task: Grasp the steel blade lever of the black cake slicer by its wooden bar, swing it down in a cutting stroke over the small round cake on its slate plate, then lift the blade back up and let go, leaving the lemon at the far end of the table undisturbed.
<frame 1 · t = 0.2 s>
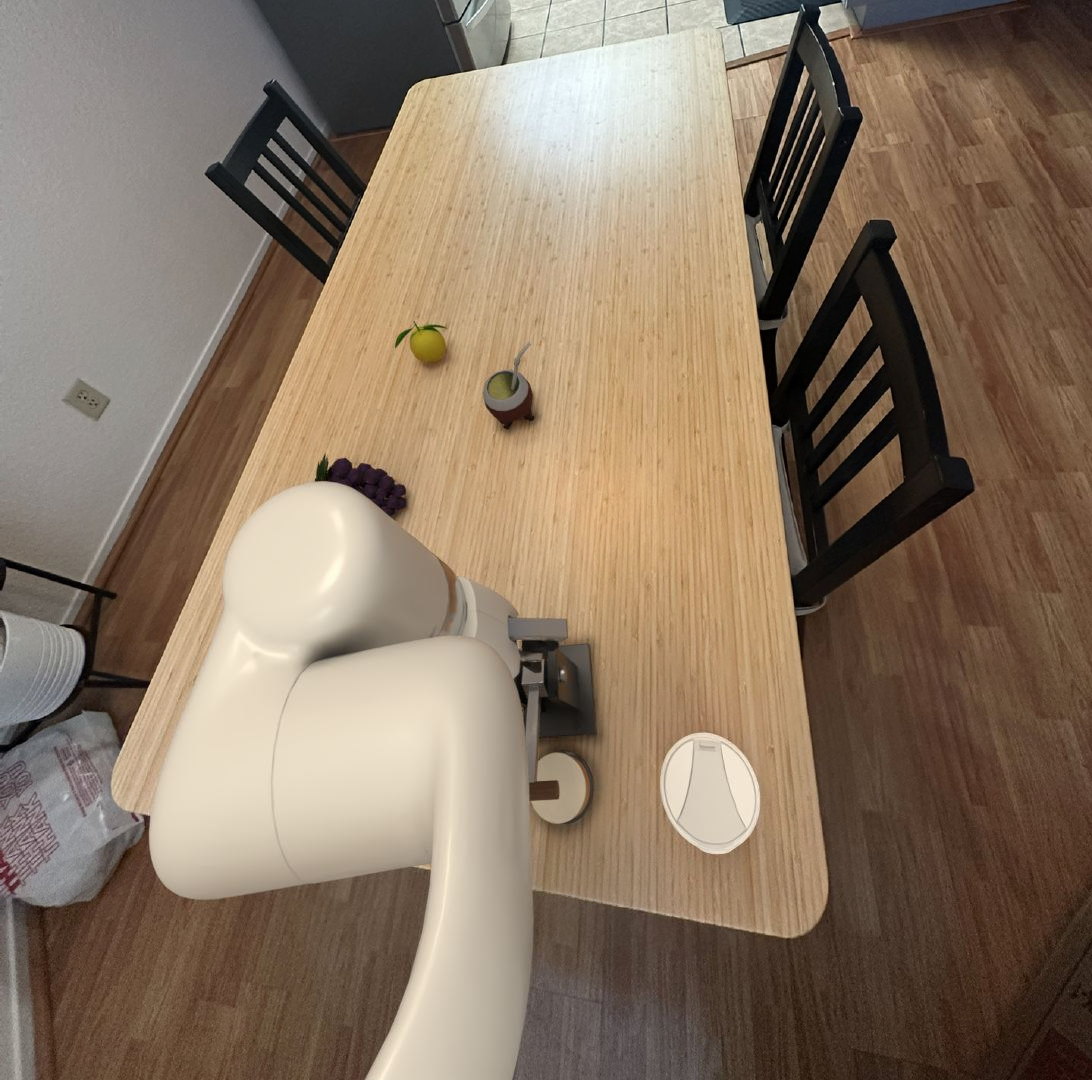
hand: (479, 656, 50), 26 cm above the table, tool pointing down, fingers open, 9 cm apart
mate gourd: (519, 411, 93), on the table
cake: (563, 786, 65), on the table
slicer: (559, 690, 71), on the table
lemon: (435, 359, 101), on the table
blade lever: (532, 725, 56), point 15 cm above the table, hinge at 25.0°
fruit: (366, 504, 89), on the table
coffee cup: (706, 787, 63), on the table
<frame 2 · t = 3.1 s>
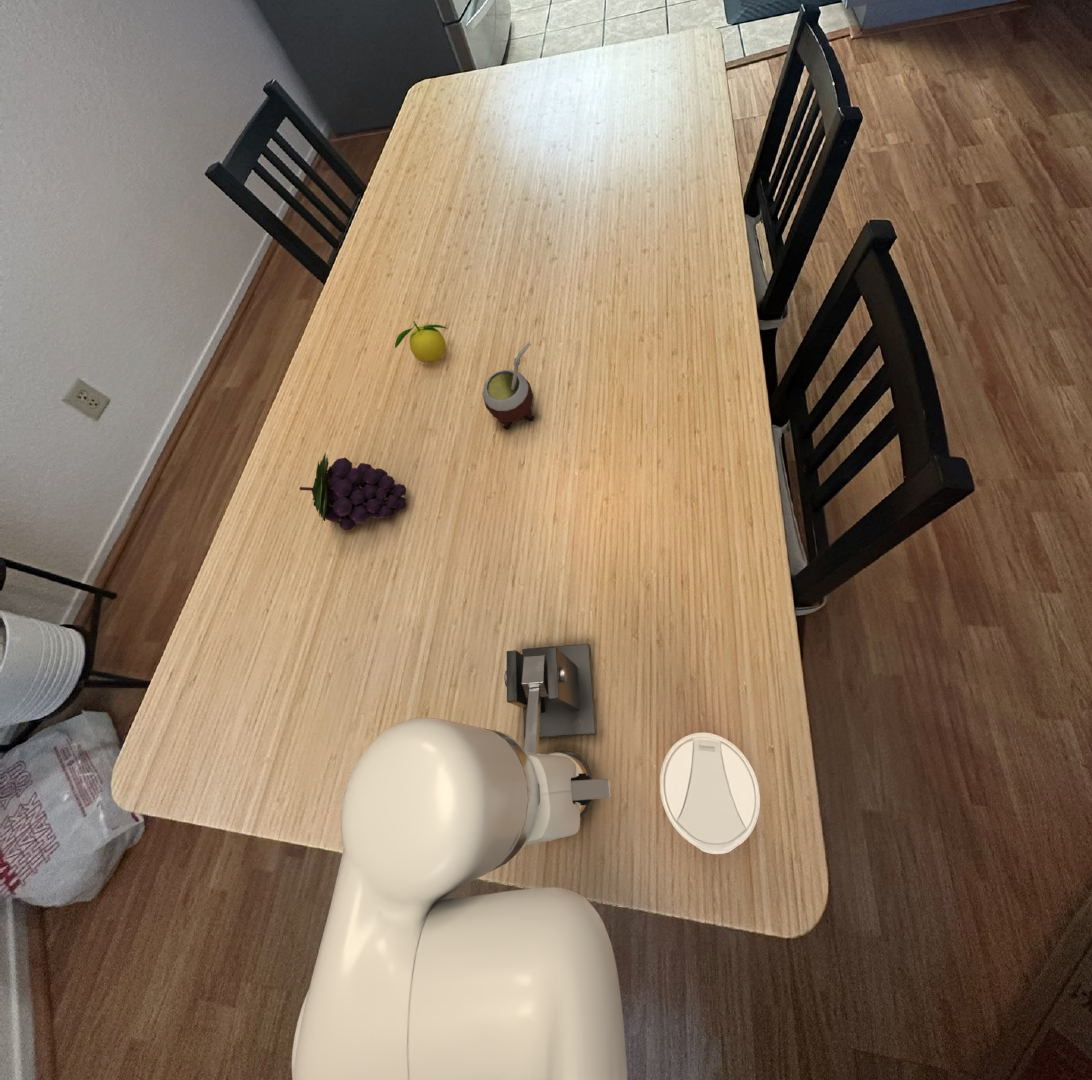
hand: (535, 790, 54), 15 cm above the table, tool pointing down, fingers closed on blade lever, 5 cm apart
blade lever: (532, 725, 56), point 15 cm above the table, hinge at 25.0°, touching gripper
everything else where it was.
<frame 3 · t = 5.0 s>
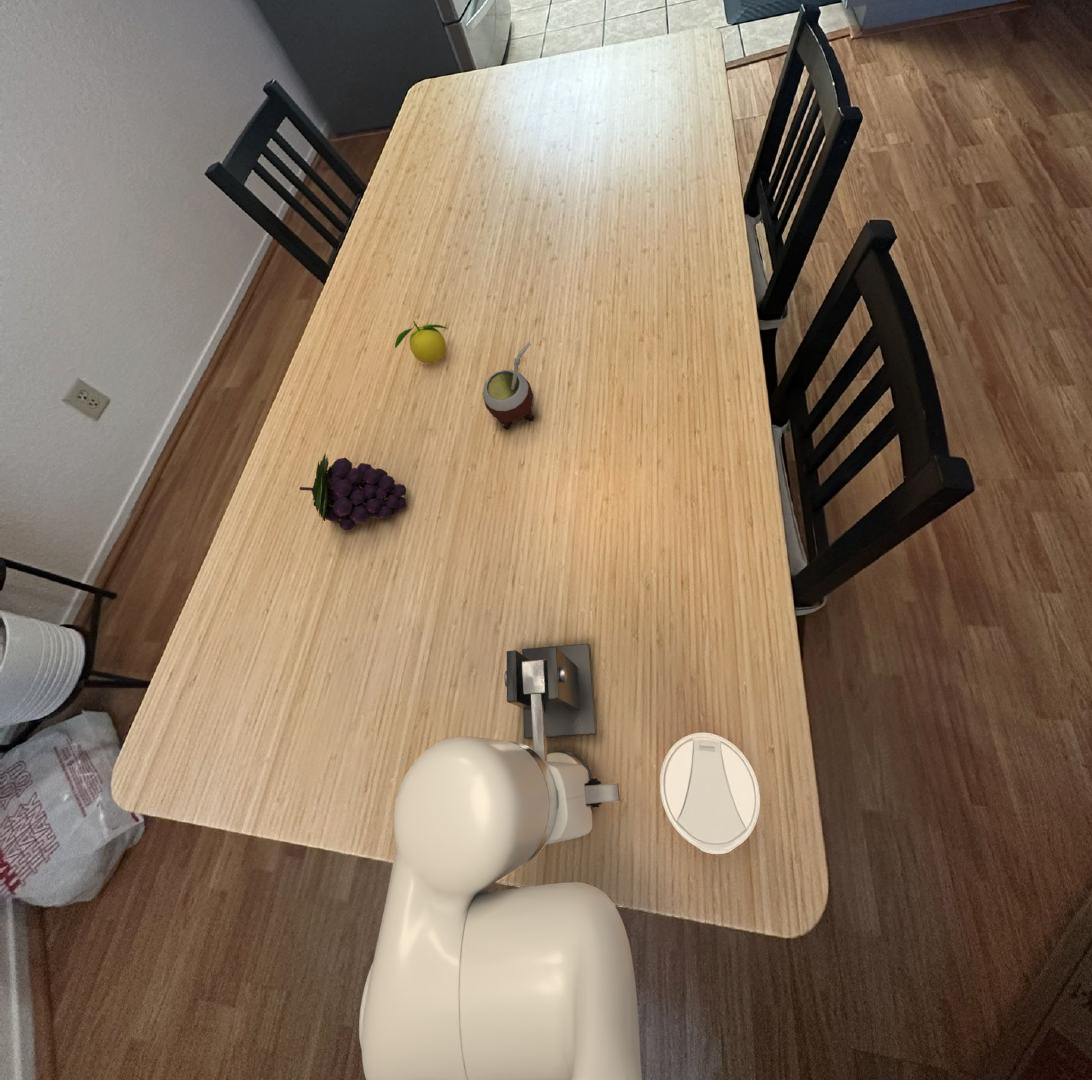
hand: (549, 792, 59), 8 cm above the table, tool pointing down, fingers closed on blade lever, 5 cm apart
blade lever: (539, 731, 58), point 12 cm above the table, hinge at -9.4°, touching gripper
everything else where it was.
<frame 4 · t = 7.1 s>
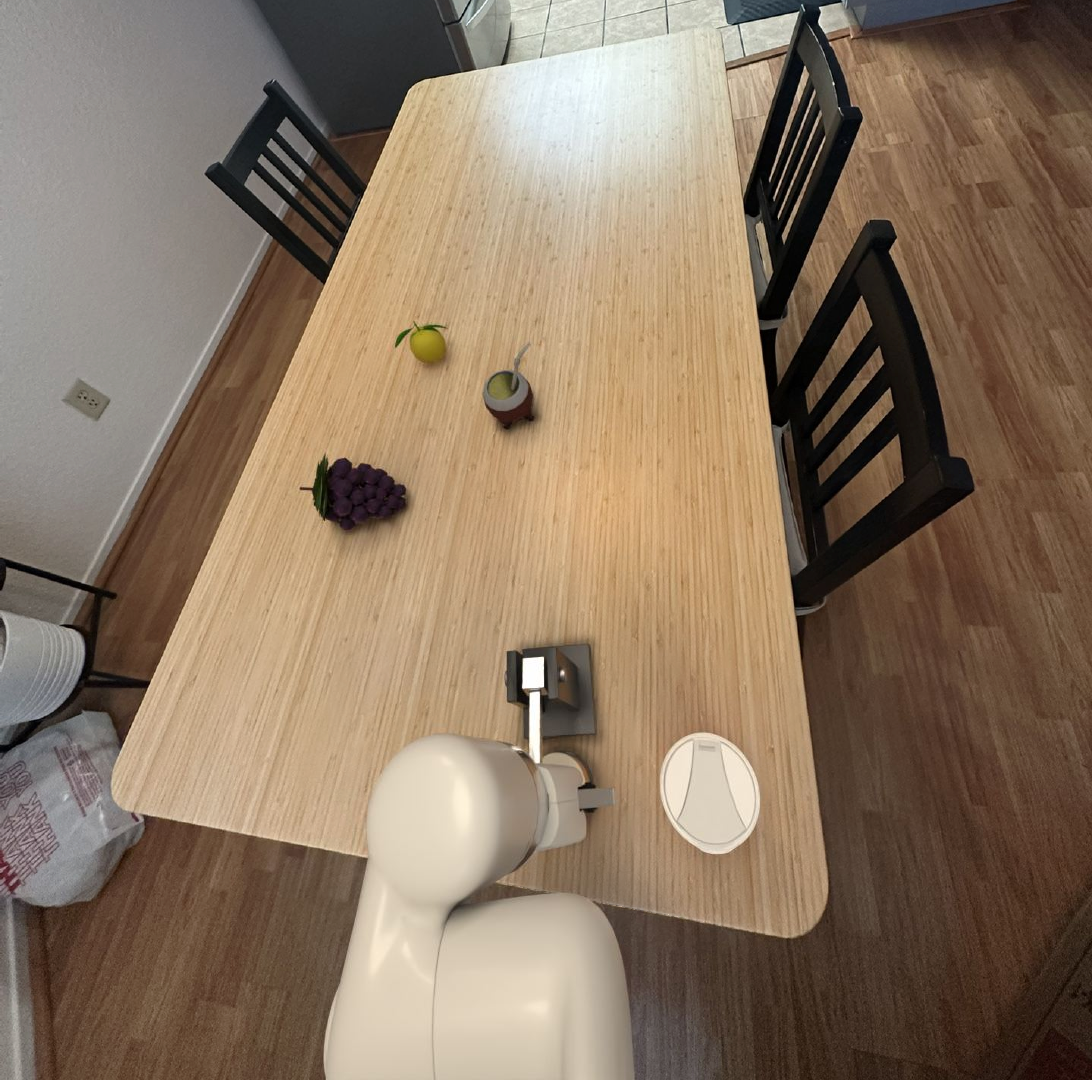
hand: (542, 797, 56), 12 cm above the table, tool pointing down, fingers closed on blade lever, 5 cm apart
blade lever: (535, 730, 57), point 14 cm above the table, hinge at 9.9°, touching gripper
everything else where it was.
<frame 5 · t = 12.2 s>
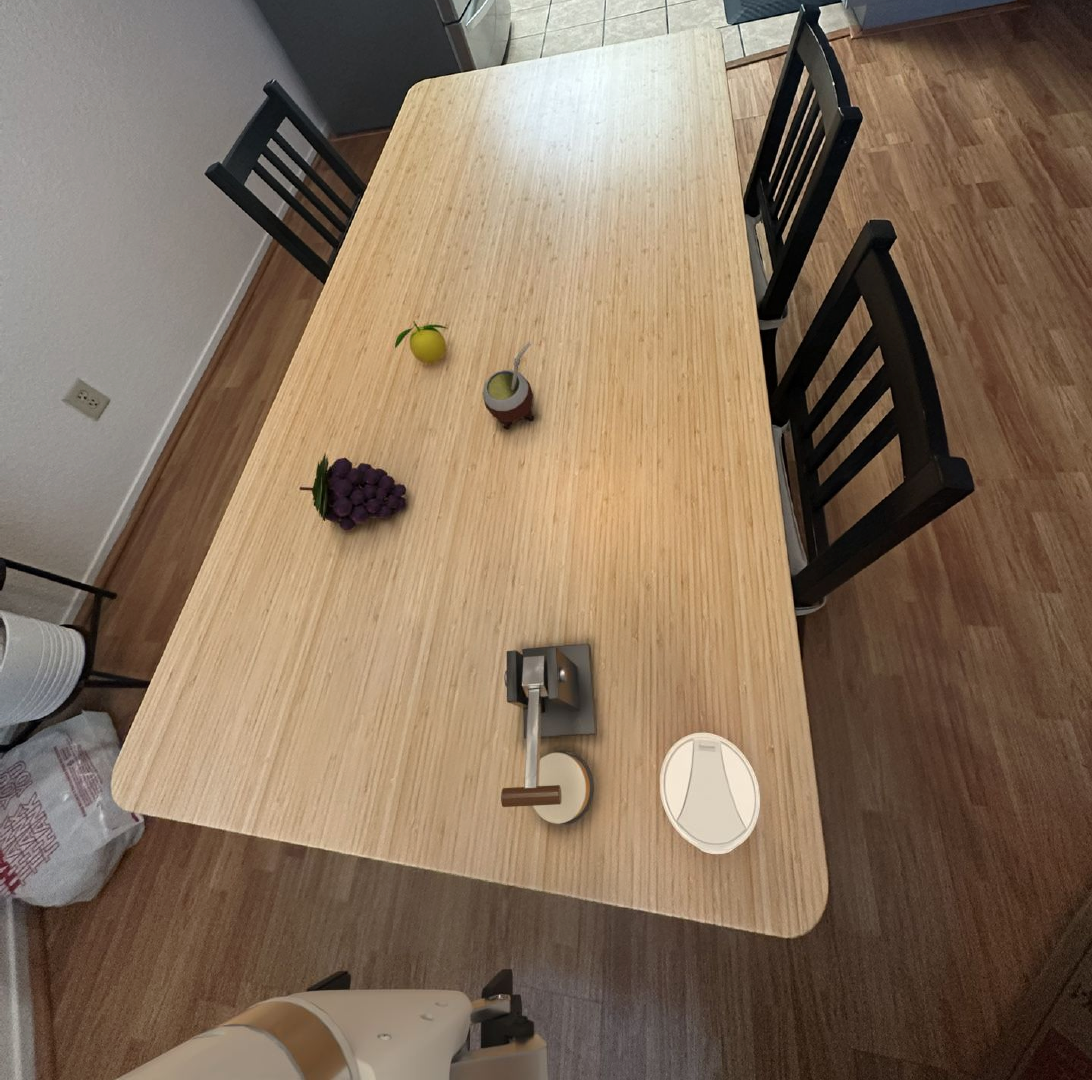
hand: (423, 1008, 34), 32 cm above the table, tool pointing down, fingers open, 9 cm apart
blade lever: (533, 727, 56), point 15 cm above the table, hinge at 19.7°
everything else where it was.
at the end: blade lever reached -16° during the clip, +20° at the end; blade lever at +20° (first picture: +25°); lemon moved 0.2 cm from its start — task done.
